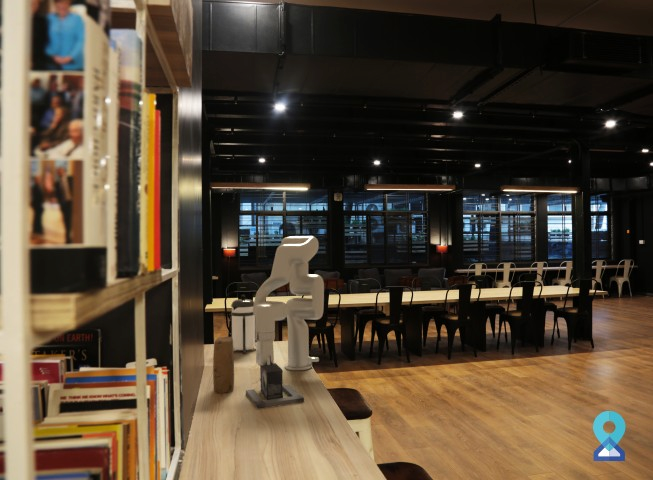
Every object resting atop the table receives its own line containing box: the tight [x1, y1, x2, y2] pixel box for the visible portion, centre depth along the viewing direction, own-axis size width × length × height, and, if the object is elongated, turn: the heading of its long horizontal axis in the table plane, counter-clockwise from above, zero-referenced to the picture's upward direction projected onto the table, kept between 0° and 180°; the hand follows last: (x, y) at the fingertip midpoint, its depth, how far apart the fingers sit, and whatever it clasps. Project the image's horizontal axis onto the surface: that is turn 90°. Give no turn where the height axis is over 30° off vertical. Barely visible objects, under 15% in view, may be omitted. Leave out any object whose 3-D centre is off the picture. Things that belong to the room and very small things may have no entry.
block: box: [212, 336, 235, 394], centre depth 174 cm, size 11×8×20 cm
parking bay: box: [245, 384, 305, 410], centre depth 164 cm, size 17×17×2 cm
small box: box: [259, 362, 284, 400], centre depth 167 cm, size 11×6×10 cm, turn 21°
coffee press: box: [230, 294, 257, 355], centre depth 242 cm, size 17×16×30 cm
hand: (265, 383), depth 175 cm, fingers closed
